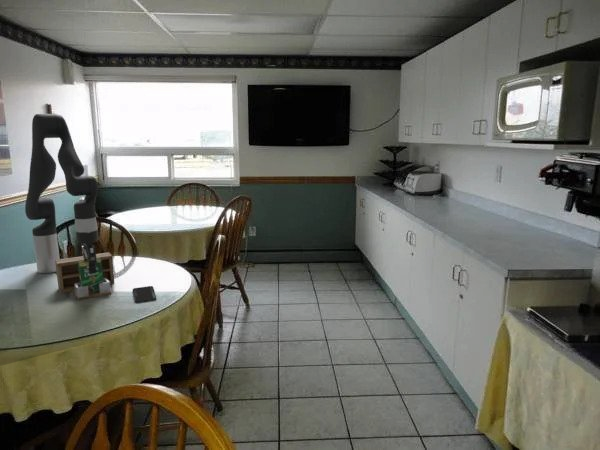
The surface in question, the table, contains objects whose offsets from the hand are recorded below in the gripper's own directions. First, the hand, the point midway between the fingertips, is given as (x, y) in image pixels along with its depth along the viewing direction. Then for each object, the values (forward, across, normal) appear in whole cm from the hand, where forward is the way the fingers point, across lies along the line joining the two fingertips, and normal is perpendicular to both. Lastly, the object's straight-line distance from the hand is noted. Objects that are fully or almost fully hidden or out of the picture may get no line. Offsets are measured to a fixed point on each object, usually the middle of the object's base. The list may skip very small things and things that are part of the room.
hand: (90, 270), depth 166 cm
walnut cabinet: (+10, -6, 0) cm, 11 cm away
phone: (+10, +12, +16) cm, 23 cm away
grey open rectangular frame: (+10, 0, 0) cm, 10 cm away
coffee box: (+9, 0, 0) cm, 9 cm away
